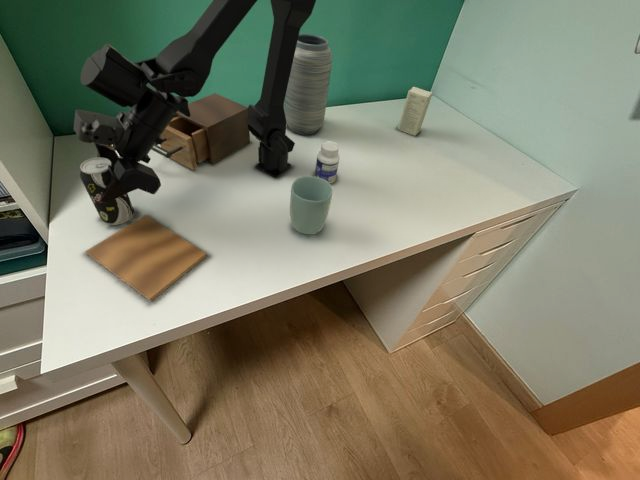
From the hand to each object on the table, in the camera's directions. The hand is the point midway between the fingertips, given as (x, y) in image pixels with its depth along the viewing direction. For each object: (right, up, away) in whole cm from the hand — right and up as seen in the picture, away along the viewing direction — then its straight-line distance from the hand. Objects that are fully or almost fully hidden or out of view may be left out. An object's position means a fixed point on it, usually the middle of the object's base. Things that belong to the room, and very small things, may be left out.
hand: (98, 192), depth 58 cm
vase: (+34, +25, +38) cm, 57 cm away
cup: (+37, -6, +10) cm, 38 cm away
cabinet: (+12, +16, +26) cm, 33 cm away
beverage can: (0, -4, +6) cm, 7 cm away
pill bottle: (+40, +7, +22) cm, 47 cm away
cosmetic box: (+67, +26, +45) cm, 85 cm away
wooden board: (+9, -11, 0) cm, 14 cm away
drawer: (+8, +12, +21) cm, 25 cm away
